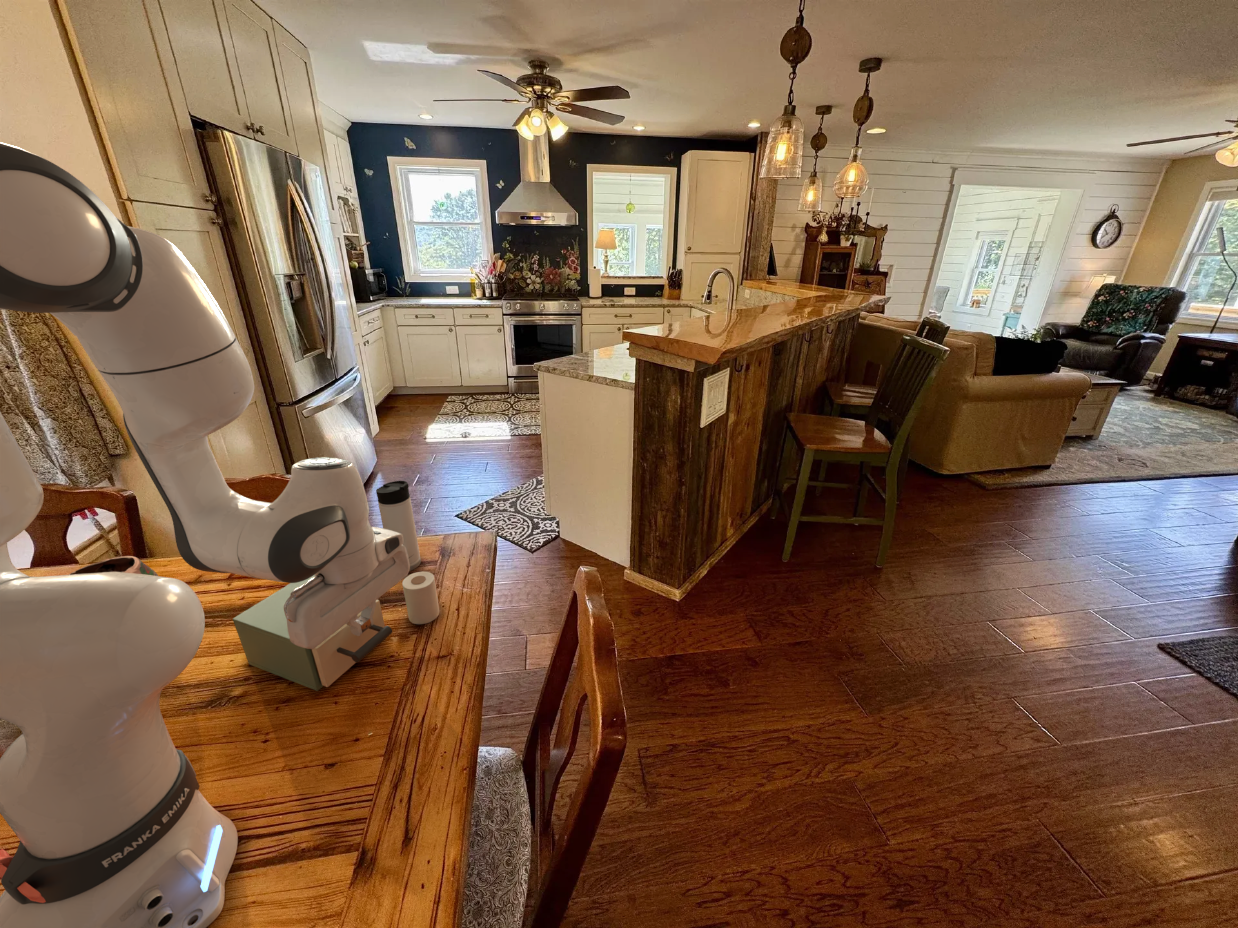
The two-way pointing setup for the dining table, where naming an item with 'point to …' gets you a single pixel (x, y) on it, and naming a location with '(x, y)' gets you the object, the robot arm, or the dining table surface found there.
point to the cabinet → (275, 640)
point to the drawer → (348, 648)
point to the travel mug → (399, 516)
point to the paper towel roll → (421, 597)
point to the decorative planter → (117, 566)
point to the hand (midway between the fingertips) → (363, 629)
